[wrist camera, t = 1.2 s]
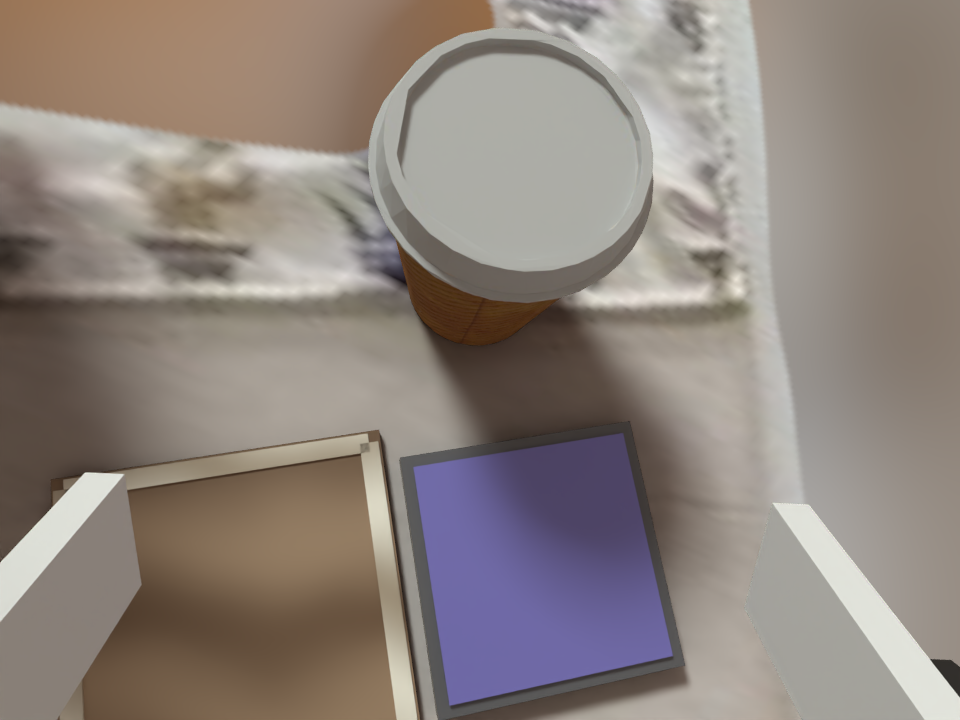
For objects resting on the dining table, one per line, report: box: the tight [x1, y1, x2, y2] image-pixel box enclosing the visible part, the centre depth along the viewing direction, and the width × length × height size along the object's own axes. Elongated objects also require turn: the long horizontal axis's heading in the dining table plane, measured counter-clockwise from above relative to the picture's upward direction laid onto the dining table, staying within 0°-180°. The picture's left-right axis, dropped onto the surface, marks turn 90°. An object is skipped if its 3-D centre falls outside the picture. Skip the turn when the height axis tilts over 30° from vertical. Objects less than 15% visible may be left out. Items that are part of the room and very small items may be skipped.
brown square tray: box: [51, 430, 420, 720], centre depth 28 cm, size 13×13×1 cm
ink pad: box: [399, 421, 685, 720], centre depth 30 cm, size 10×10×1 cm
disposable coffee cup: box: [368, 28, 653, 345], centre depth 28 cm, size 10×10×12 cm
